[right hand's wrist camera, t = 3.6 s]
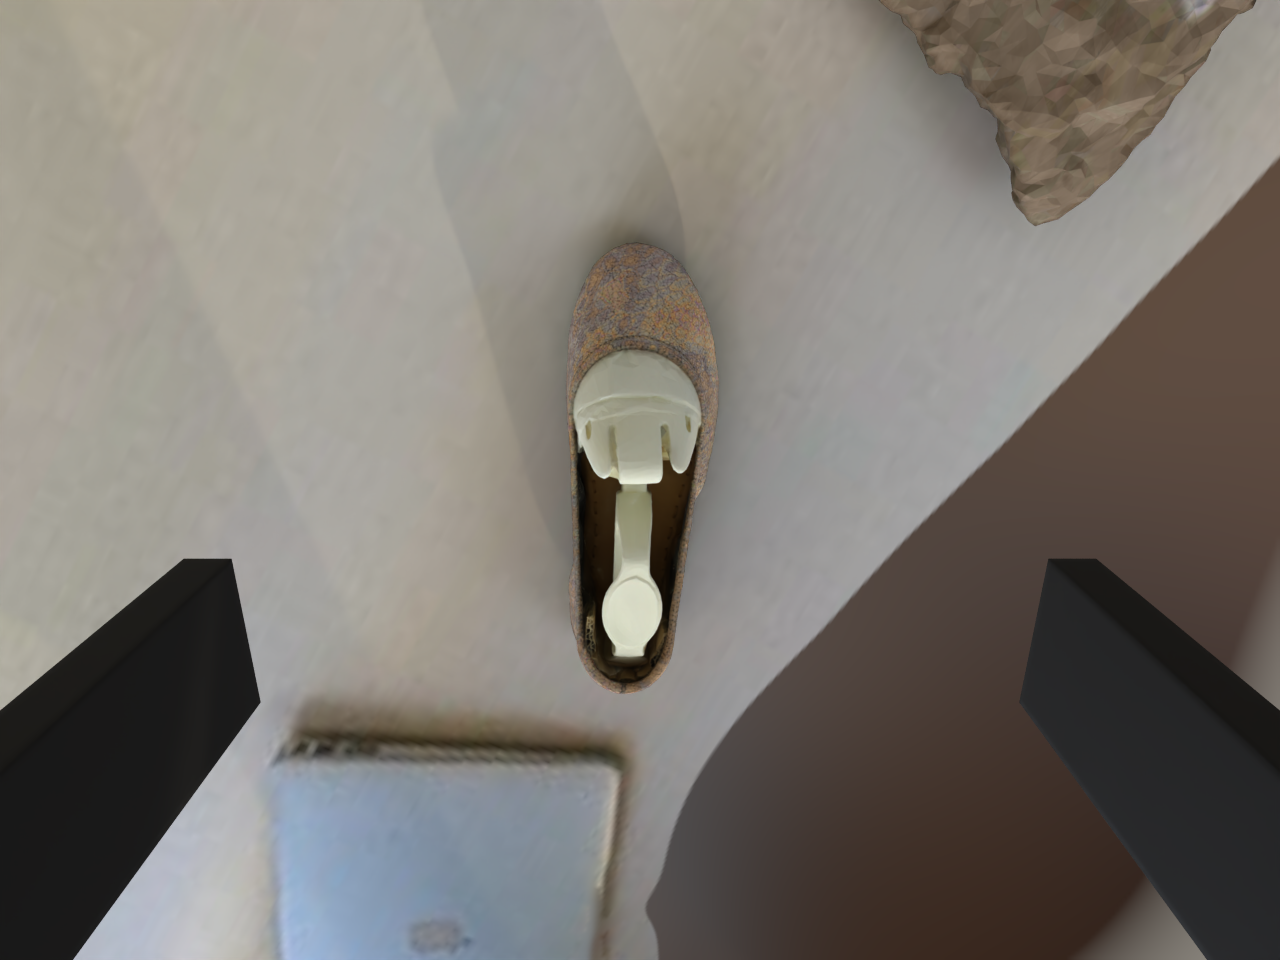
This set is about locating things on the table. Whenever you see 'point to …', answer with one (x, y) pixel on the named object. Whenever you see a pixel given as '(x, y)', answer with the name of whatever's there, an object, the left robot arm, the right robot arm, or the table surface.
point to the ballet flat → (635, 457)
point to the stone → (1068, 79)
